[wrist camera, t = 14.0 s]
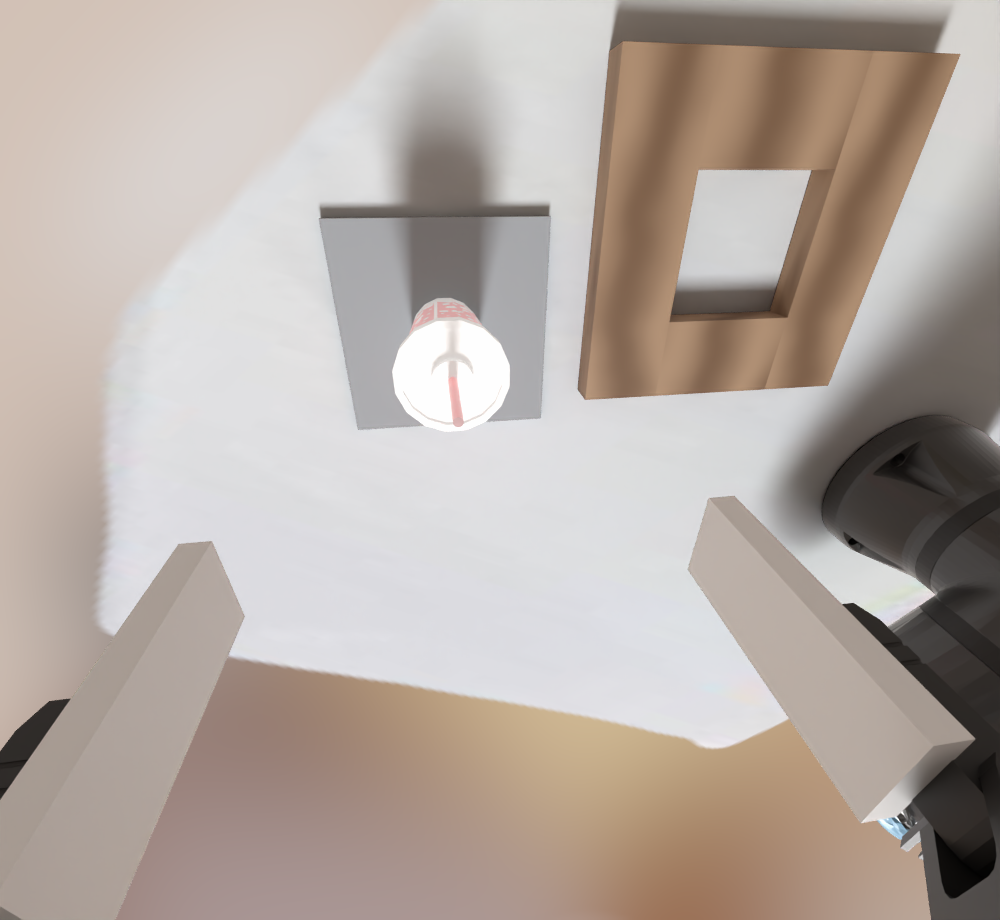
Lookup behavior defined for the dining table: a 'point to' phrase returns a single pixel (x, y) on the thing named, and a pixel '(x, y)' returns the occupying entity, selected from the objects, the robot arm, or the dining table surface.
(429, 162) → the dining table surface
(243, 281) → the dining table surface
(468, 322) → the beverage cup
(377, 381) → the rubber mat
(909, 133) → the pocket holder
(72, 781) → the robot arm
